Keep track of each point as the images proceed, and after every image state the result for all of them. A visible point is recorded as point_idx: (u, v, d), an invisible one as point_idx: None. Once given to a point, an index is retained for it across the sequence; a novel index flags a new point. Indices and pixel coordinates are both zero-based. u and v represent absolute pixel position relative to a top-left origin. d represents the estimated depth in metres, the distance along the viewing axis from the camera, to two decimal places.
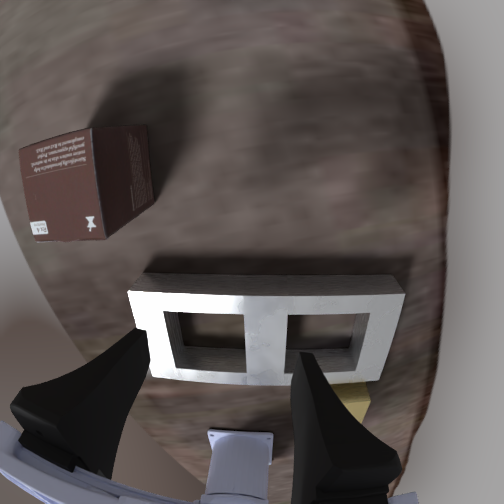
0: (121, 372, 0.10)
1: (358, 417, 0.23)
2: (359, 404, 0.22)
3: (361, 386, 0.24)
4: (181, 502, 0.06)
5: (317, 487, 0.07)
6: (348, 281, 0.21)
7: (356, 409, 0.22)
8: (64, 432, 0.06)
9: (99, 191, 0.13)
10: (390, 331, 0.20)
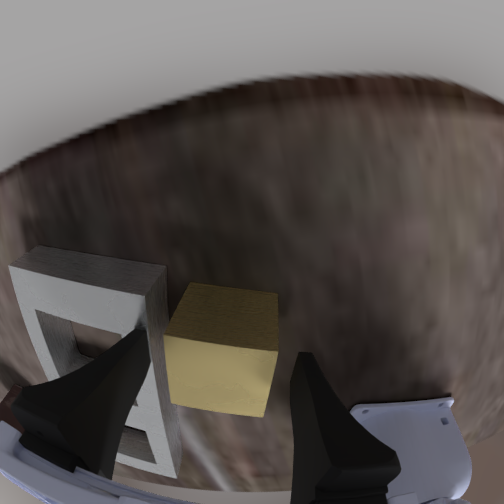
0: (122, 372, 0.10)
1: (225, 355, 0.11)
2: (173, 355, 0.11)
3: None
4: (181, 502, 0.06)
5: (316, 487, 0.07)
6: None
7: (191, 359, 0.11)
8: (65, 433, 0.06)
9: None
10: (49, 282, 0.12)
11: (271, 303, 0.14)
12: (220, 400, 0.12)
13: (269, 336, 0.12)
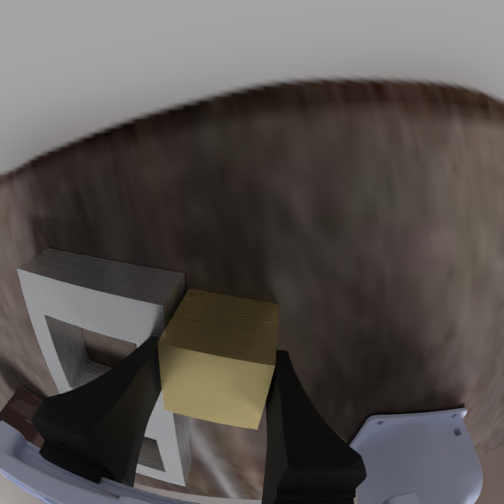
0: (144, 378, 0.10)
1: (220, 367, 0.11)
2: (167, 363, 0.11)
3: None
4: (181, 502, 0.06)
5: (278, 487, 0.07)
6: None
7: (185, 368, 0.11)
8: (93, 444, 0.06)
9: None
10: (60, 288, 0.12)
11: (271, 314, 0.13)
12: (214, 410, 0.12)
13: (266, 349, 0.11)
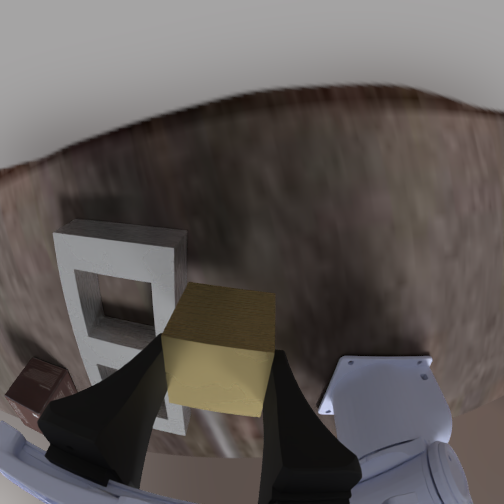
0: (150, 379, 0.10)
1: (222, 356, 0.11)
2: (170, 355, 0.11)
3: None
4: (181, 502, 0.06)
5: (273, 487, 0.07)
6: None
7: (188, 359, 0.11)
8: (101, 447, 0.06)
9: (23, 404, 0.20)
10: (91, 243, 0.17)
11: (268, 304, 0.14)
12: (217, 400, 0.12)
13: (266, 337, 0.12)
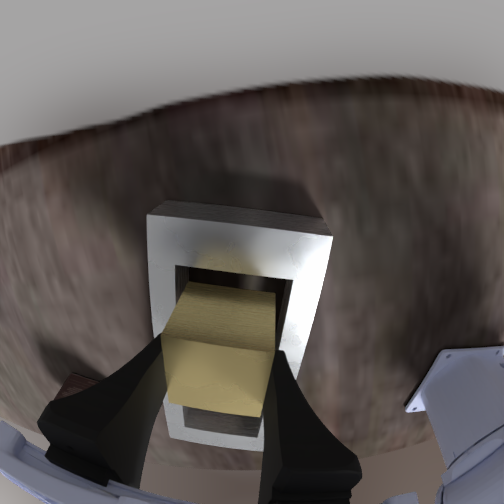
0: (150, 379, 0.10)
1: (222, 356, 0.11)
2: (170, 355, 0.11)
3: None
4: (181, 502, 0.06)
5: (273, 487, 0.07)
6: None
7: (188, 359, 0.11)
8: (101, 447, 0.06)
9: None
10: (213, 229, 0.14)
11: (268, 304, 0.14)
12: (217, 400, 0.12)
13: (266, 337, 0.12)
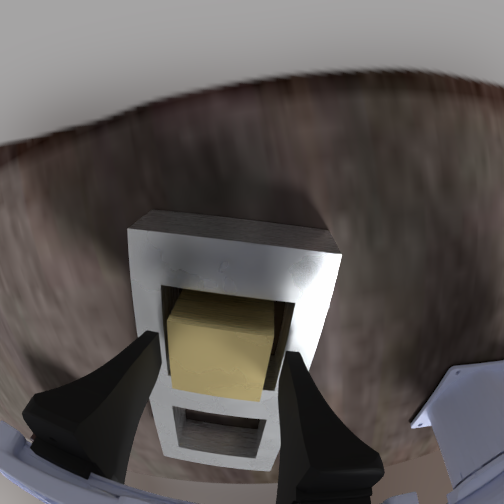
0: (134, 376, 0.10)
1: (224, 340, 0.12)
2: (175, 340, 0.12)
3: None
4: (181, 502, 0.06)
5: (297, 487, 0.07)
6: None
7: (192, 344, 0.12)
8: (81, 439, 0.06)
9: None
10: (202, 246, 0.12)
11: None
12: (219, 385, 0.13)
13: (265, 322, 0.13)
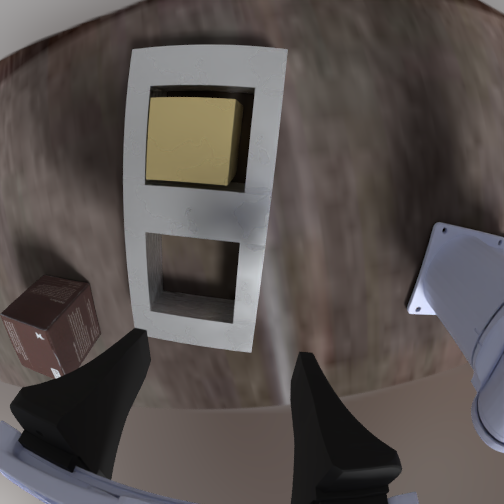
0: (121, 372, 0.10)
1: (195, 107, 0.13)
2: (155, 115, 0.14)
3: None
4: (181, 502, 0.06)
5: (317, 487, 0.07)
6: None
7: (168, 116, 0.14)
8: (64, 432, 0.06)
9: (24, 321, 0.17)
10: (185, 51, 0.13)
11: None
12: (189, 164, 0.15)
13: None
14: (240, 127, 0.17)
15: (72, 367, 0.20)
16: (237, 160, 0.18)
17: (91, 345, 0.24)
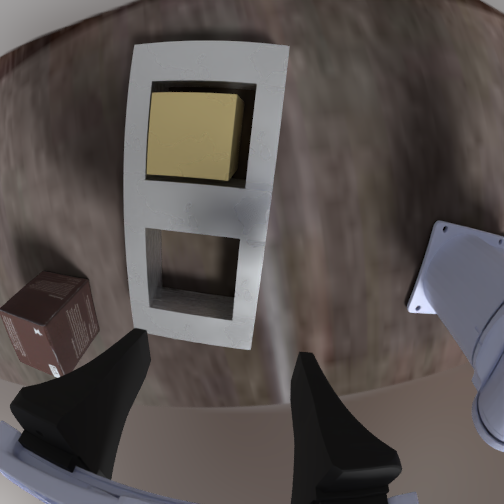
0: (121, 372, 0.10)
1: (196, 102, 0.13)
2: (156, 110, 0.14)
3: None
4: (181, 502, 0.06)
5: (317, 487, 0.07)
6: None
7: (170, 111, 0.14)
8: (64, 432, 0.06)
9: (22, 317, 0.17)
10: (187, 47, 0.13)
11: None
12: (190, 158, 0.15)
13: None
14: (241, 123, 0.17)
15: (70, 363, 0.20)
16: (238, 156, 0.18)
17: (89, 342, 0.23)
